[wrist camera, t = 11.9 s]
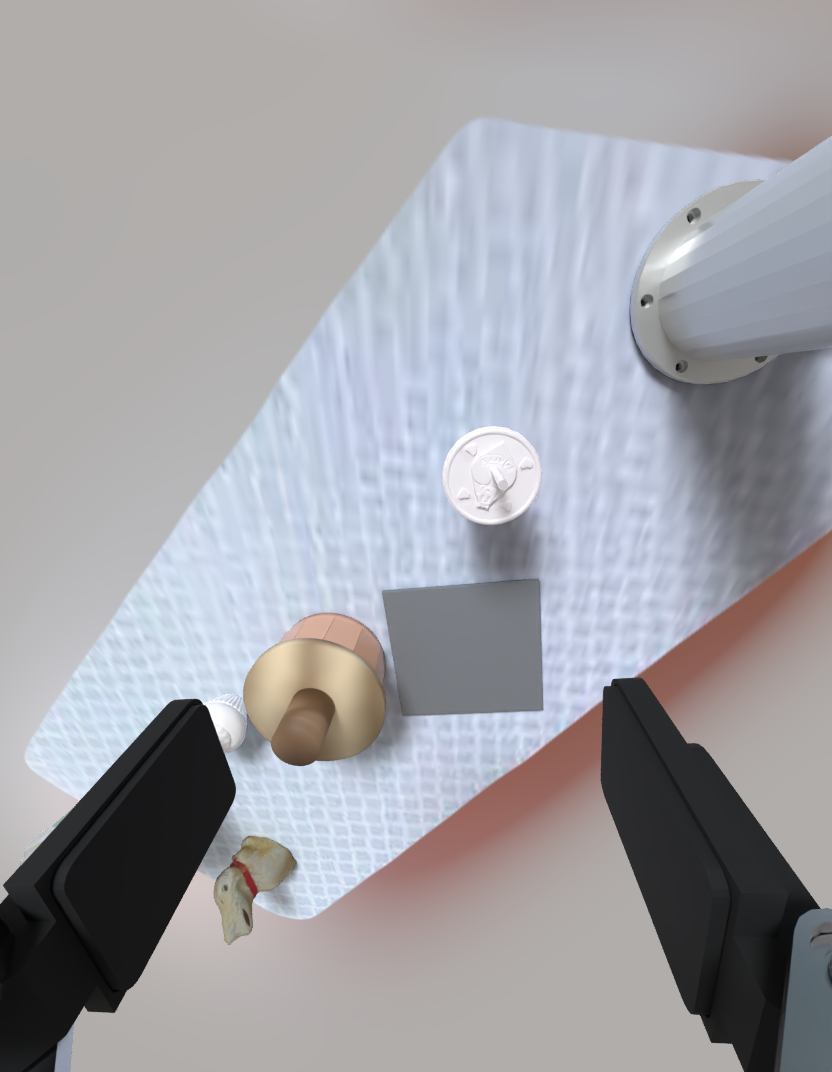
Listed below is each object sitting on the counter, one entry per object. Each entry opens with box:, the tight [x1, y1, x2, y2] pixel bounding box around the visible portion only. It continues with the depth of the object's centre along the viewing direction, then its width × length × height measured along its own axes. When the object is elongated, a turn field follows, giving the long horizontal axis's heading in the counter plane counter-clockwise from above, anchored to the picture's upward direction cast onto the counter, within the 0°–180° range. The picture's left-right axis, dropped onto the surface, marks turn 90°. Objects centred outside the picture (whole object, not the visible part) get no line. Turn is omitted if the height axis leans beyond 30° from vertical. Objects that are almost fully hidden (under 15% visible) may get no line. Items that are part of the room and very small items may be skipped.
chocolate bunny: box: [214, 836, 296, 945], centre depth 50 cm, size 6×8×10 cm
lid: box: [243, 638, 386, 766], centre depth 35 cm, size 13×13×6 cm
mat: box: [382, 579, 543, 716], centre depth 41 cm, size 15×15×1 cm
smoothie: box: [442, 426, 542, 525], centre depth 28 cm, size 6×6×14 cm
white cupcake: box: [203, 694, 247, 753], centre depth 43 cm, size 6×6×7 cm
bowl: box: [279, 613, 385, 683], centre depth 40 cm, size 11×11×6 cm
